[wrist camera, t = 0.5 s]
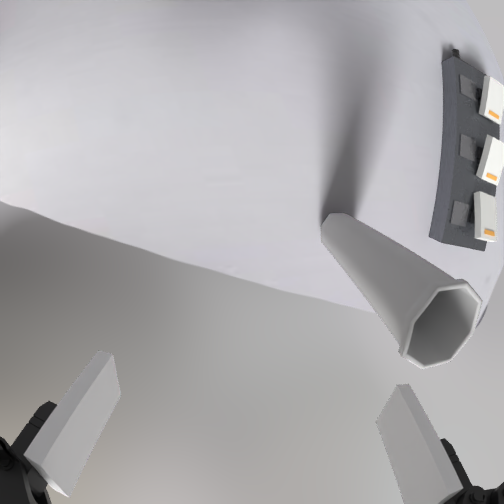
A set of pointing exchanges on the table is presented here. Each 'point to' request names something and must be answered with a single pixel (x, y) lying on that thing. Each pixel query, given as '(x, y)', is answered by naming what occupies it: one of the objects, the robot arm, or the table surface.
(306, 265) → the table surface
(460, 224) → the power strip
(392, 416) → the robot arm
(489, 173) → the block
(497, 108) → the block
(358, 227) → the tube
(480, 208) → the block
